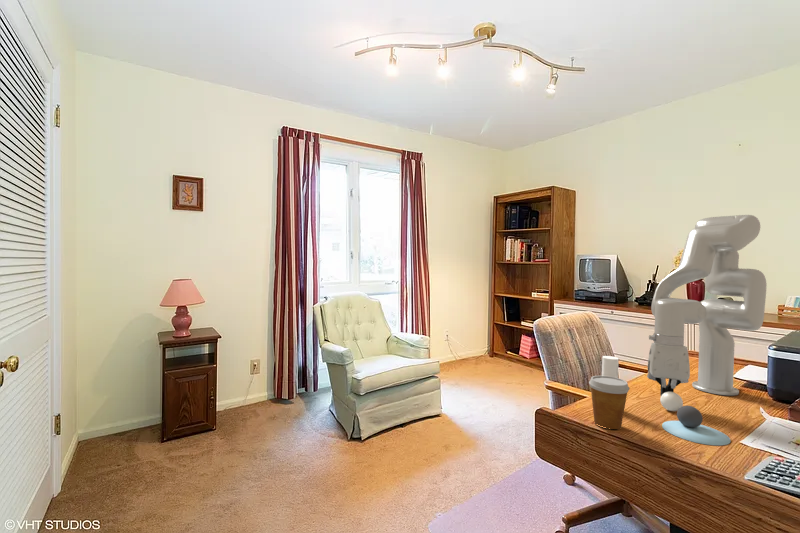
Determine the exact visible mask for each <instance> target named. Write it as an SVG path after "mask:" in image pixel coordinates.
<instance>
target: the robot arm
mask: <svg viewBox="0 0 800 533" xmlns="http://www.w3.org/2000/svg"><path fill="white" fill-rule="evenodd" d="M760 231H761V222H760V220H759V218H758V217H757V216H755V215H752V214H739V215H726V216H725V215H724V216H722V215H721V216H711V217H705V218H702V219H699V220H698V221H697V222H695V227H694V228H692V229H691V230H690V231H689V232H688V234H687V236H686V240H685V243H684V247H683V249H682V250H683V251H682V253H681V257H680V261H679V264H678V267H677V268H676V269H674V270H673V271H672V272H670V273H669V274H667V275H666V276H665V277H664V278H663V279H662V280H661V281H660V282H659V284H658V285H657V286H656V288H655V291H654V294H653V296H652V297H653V298H652V301H651V306H650V307H651V308H650V309H651V313H652V316H653V317H654V333H653V334H652V335H649V336H648V340H650V341H653V342H651V345H650V348H649V353H648V357H647V358H648V360H647V375H646V378H647V379H649V380H652V381H655V382H656V383H658V384H659V385H660V397H661V396H662V394H663V393H665V392H674V391H675V390H674V389H676V387H677V386H679V385H680V384H687V383H689V379H690V376H691V371H690V357H689V356H690V355H689V351H688V350H689V349H688V347H687V346H685V345H684V343H685V342H684V341H685V340H684V339H685V324H687V325H688V324H689V325H696V324H698V331H699V336H698V337H699V338H698V343H699V344H698V372H697V380H695V381H692V383H691V386H692V387H693V388H694V389H695V390H696V389H697V390H698V391H701V392H705V393H709V394H714V395H719V396H738V395H740V390H739V389H738V388H736V387H735V386H734V369H735V368H734V366H735V364H734V363H735V347H736V346H735V345H736V344H735V339H734V337H733V336H732V334H731V332H730V331H729V330H728V329H733V330H740V331H747V332H748V331H750V332H753V331H755V332H756V331H758V330H760V329H761V327H762V326H763V323H764V320H765V309H766V299H767V279H766V278H767V277H766V275H765V274H764V272H762V270H759V269H756V268H739V261H740V260H739V259H740V255H739V252H738V251H740V250H742V249H744V248H745V247H747V246H748V245H749V244H750V243H752V242H754V241H755V240H756V238H758V236H759V235H760ZM701 279H705V280H704V281H705V282H704V286H705V289H706V291H707V293H709V294H712V295H715V296H725V297H740V298H743V301H742V300H733V299H732V300H731V299H723V298H706V299H703V300H701V301H698V300H695V299H687V298H686V299H685V298H676V297H671V295H672V294H673V292H674V291H675V290H676V289H678V288H680V287H681V286H684V285H686V284H689V283H693V282H696V281H699V280H701ZM666 380H668V382H667V381H666ZM674 393H675V392H674Z"/></svg>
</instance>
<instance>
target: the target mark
mask: <svg viewBox="0 0 800 533" xmlns="http://www.w3.org/2000/svg"><path fill="white" fill-rule="evenodd" d="M661 426H662V429H663V430H664V431H666V432H667V433H669V434H670V435H671V436H675V437H677V438H679V439H683V440H685V441H689V442H692V443H696V444H702V445H707V446H719V447H720V446H727V445H730V443H731V438H730V437H729V436H728V435H727V434H725V433H724V432H723V431H720V430H719V429H718V430H717V429H715V428H712V427H711V426H708V425H704V424H701V425H700V426H698V427H695V428H690V427H687V426H684V425H683V424H682V423H681V422H680V421H679V420H667V421H664V422H663V423H662V425H661Z"/></svg>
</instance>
